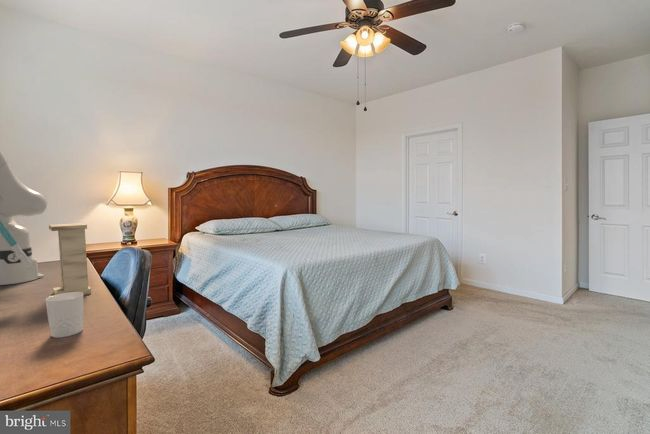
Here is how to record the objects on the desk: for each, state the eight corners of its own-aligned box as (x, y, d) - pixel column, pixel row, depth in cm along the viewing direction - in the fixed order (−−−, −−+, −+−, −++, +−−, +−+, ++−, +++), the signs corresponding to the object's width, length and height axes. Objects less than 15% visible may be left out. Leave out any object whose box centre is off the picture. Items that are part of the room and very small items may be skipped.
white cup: (92, 328, 90) (90, 293, 89) (61, 340, 83) (58, 302, 82) (72, 325, 93) (70, 290, 92) (40, 336, 85) (38, 299, 85)
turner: (-16, 213, 99) (-8, 210, 100) (-14, 212, 105) (-7, 210, 106) (26, 268, 106) (33, 265, 107) (25, 264, 112) (31, 261, 113)
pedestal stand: (53, 292, 124) (48, 224, 122) (85, 287, 131) (81, 222, 129) (56, 299, 116) (51, 226, 114) (91, 293, 123) (86, 224, 121)
